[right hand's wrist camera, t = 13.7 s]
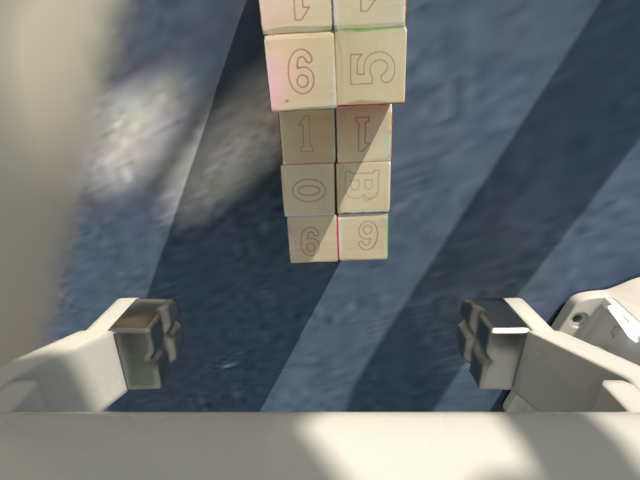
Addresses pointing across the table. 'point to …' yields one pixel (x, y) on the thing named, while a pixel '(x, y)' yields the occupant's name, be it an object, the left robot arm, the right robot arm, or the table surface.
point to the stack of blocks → (335, 120)
